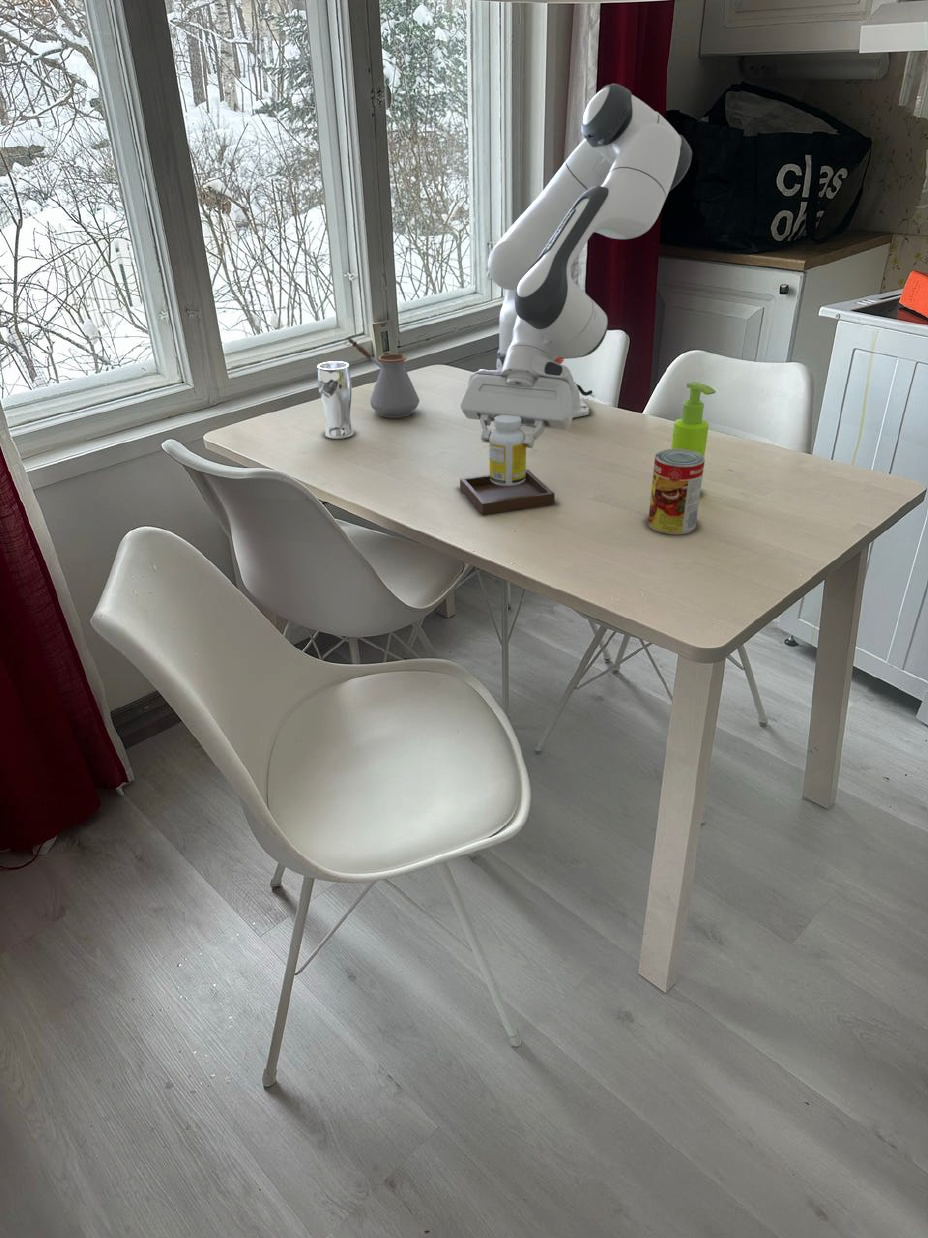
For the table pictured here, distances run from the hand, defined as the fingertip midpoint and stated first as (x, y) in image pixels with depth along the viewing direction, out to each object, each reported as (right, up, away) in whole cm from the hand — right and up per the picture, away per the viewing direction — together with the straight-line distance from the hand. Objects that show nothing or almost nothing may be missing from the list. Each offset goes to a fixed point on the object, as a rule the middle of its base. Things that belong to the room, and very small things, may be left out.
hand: (506, 443), depth 151 cm
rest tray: (0, -8, +6) cm, 10 cm away
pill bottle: (0, -6, +4) cm, 7 cm away
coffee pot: (-27, +19, +53) cm, 62 cm away
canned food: (+28, -15, -6) cm, 32 cm away
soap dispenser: (+33, -8, +6) cm, 34 cm away
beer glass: (-35, +9, +37) cm, 52 cm away
